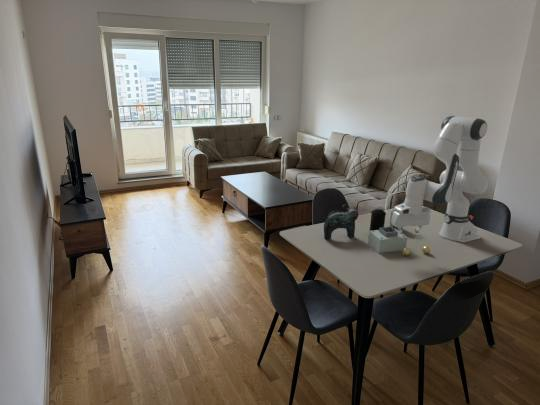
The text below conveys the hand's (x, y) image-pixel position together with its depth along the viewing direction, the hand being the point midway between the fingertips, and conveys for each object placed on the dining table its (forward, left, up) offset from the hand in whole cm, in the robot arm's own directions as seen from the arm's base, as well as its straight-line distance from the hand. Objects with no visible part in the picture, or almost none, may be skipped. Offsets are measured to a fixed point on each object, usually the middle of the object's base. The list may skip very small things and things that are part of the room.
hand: (408, 233), depth 193 cm
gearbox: (+5, -11, -13) cm, 18 cm away
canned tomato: (-14, -33, -13) cm, 38 cm away
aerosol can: (+5, -23, -13) cm, 27 cm away
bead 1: (0, 0, -13) cm, 13 cm away
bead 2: (-12, 0, -13) cm, 18 cm away
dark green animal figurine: (+25, -28, -13) cm, 40 cm away
